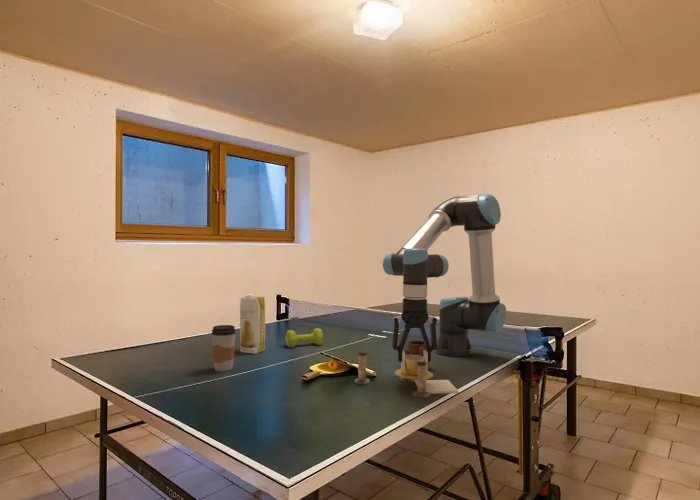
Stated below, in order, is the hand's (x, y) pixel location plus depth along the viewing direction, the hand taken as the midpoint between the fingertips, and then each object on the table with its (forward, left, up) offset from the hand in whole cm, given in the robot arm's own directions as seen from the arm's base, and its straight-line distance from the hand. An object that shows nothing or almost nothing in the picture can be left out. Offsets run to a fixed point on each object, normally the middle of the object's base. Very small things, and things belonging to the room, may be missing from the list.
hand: (414, 371), depth 133 cm
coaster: (-7, 0, -5) cm, 8 cm away
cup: (0, 0, -1) cm, 1 cm away
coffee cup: (+64, -22, -5) cm, 68 cm away
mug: (-6, -19, -5) cm, 20 cm away
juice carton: (+58, -48, -5) cm, 75 cm away
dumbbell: (+37, -59, -5) cm, 70 cm away
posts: (+8, 0, -5) cm, 9 cm away
